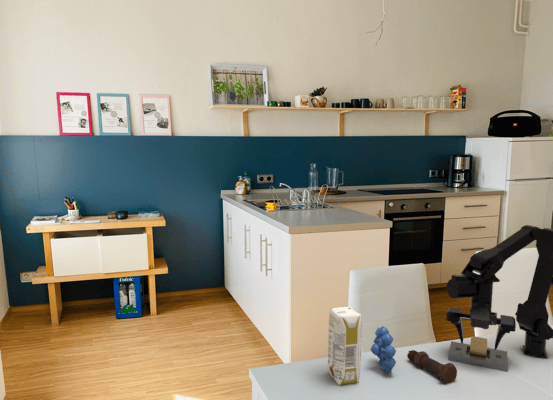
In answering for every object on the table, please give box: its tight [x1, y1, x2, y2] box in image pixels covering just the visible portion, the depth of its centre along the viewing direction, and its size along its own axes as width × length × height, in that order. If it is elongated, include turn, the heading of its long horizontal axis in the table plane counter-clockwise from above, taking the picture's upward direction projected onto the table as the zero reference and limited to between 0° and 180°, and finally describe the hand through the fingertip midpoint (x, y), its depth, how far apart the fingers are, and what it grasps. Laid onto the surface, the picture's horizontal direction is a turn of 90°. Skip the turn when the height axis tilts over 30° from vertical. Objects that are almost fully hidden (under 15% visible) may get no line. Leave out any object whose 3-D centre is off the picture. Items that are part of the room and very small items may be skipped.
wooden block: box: [469, 335, 488, 358], centre depth 136 cm, size 4×4×6 cm
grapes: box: [370, 325, 397, 374], centre depth 128 cm, size 12×7×12 cm, turn 9°
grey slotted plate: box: [447, 340, 509, 372], centre depth 136 cm, size 10×16×2 cm, turn 64°
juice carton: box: [327, 306, 363, 386], centre depth 122 cm, size 8×9×19 cm
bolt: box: [407, 349, 458, 385], centre depth 128 cm, size 6×5×15 cm
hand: (478, 346), depth 136 cm, fingers open, 9 cm apart
